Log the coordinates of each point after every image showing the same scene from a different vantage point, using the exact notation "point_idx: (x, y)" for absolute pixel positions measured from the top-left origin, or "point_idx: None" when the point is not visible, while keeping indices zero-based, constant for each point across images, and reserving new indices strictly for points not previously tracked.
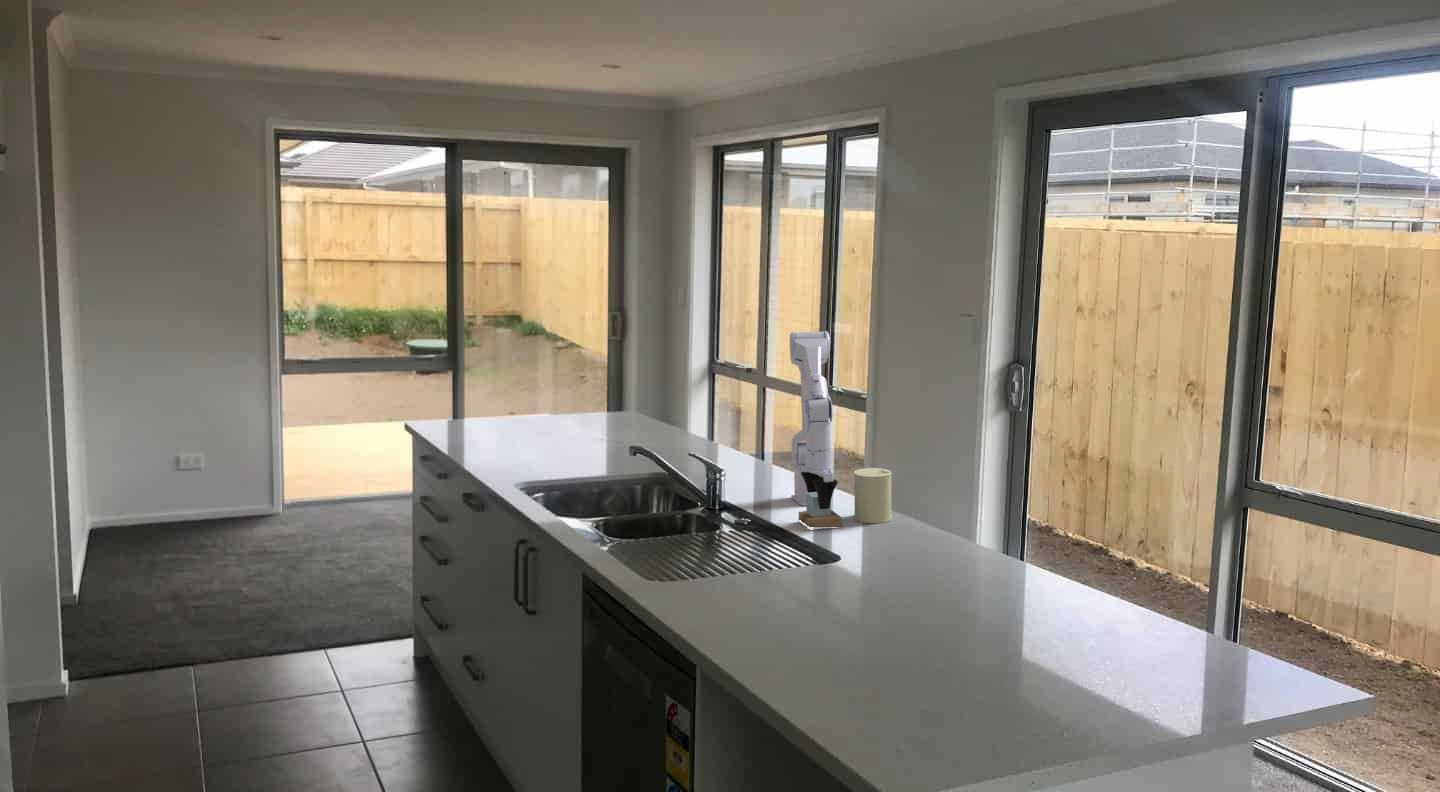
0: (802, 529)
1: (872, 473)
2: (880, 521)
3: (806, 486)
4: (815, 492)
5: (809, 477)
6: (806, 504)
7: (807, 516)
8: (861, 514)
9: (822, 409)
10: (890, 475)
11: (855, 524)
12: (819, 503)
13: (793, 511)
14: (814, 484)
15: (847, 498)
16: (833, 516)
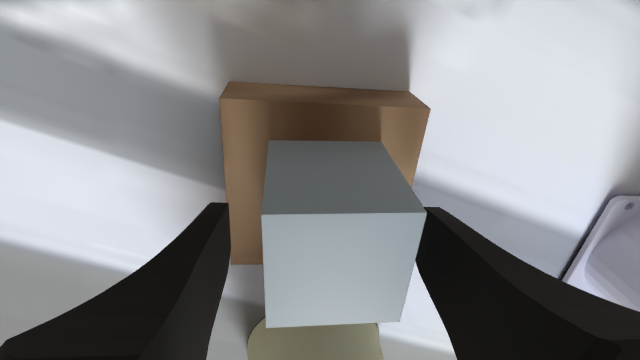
0: (266, 54)
1: None
2: (247, 353)
3: (514, 259)
4: (397, 271)
5: (534, 355)
6: (395, 165)
7: (308, 119)
8: (282, 334)
9: None
10: None
11: (261, 284)
12: (196, 219)
13: (579, 135)
14: (125, 334)
15: None
16: (255, 239)
